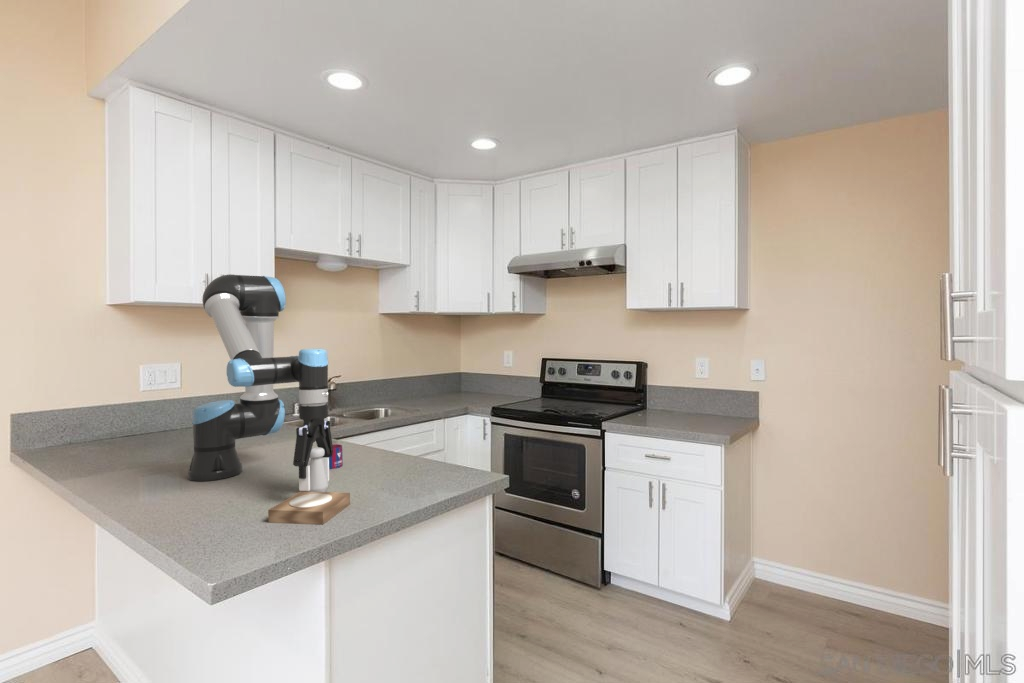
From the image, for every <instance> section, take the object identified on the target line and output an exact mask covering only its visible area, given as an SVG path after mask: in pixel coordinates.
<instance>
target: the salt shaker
mask: <svg viewBox="0 0 1024 683" xmlns="http://www.w3.org/2000/svg"><path fill="white" fill-rule="evenodd" d="M324 454H325V451H324V449H323V448H319V447H318V446H316V447H312V450H311V454H310V458H309V459H310V460H309V462H310V463H309V466H310V490H309V491H307V492H328V487H329V481H328V479H327V475H326V470H325V466H324V462H323V457H322V456H324Z"/></svg>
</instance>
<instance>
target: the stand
mask: <svg viewBox="0 0 1024 683" xmlns="http://www.w3.org/2000/svg"><path fill="white" fill-rule="evenodd" d="M350 505H351V493H350V492H336V491H335V492H330V491H326V492H308V491H298V492H297V493H295V494H294V495H292V496H290V497H288V498H287V499H285V500H283V501H282V502H280V503H278V504H276V505H274V506H273V507H271V508H269V509H268V510H267V513H268V515H267V516H268V518H267V519H268V523H277V524H300V525H301V524H305V525H306V524H307V525H309V524H310V525H325V523H327V522H328V521H330V520H331V519H333V518H334V517H335V516H337V515H338V514H339V513H340V512H342V511H344V509H346V508H347V507H348V506H350Z"/></svg>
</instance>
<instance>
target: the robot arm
mask: <svg viewBox="0 0 1024 683" xmlns="http://www.w3.org/2000/svg"><path fill="white" fill-rule="evenodd" d="M201 300H202V307H203V309H204V311H205V313H206V314H207V316H209V317H210V318H212V320H213V322H214V325H215V327H216V329H217V332H218V334H219V336H220V338H221V341H222V343H223V346H224V348H225V350H226V352H227V354H228V356H229V360H228V362H227V365H226V377H227V378H226V379H227V381H228V383H229V385H230V386H231V387H235V388H237V387H239V388H240V387H243V388H244V393H243V394H242V395H240V397H239V400H240V401H239V403H235V401H234V400H232V399H223V400H217V401H212V402H207V403H203V404H201V405H199V406H197V407H195V408H194V410H193V411H192V421H191V423H192V426H193V427H192V432H193V437H192V438H193V454H192V458H191V462H190V465H189V469H188V470H187V474H188V476H187V478H188V480H190V481H194V482H208V481H215V480H216V481H217V480H223V479H227V478H232V477H235V476H237V475H239V474H241V473H242V472H243V464H242V461H241V460H240V456H239V454H238V451H237V448H236V440H239V439H240V440H241V439H246V438H253V437H260V436H264V437H265V436H267V435H271V434H275V433H278V432H279V431H280V430H281V428H282V427H283V425H284V420H285V416H286V414H285V413H286V412H285V411H286V409H285V408H284V407H285V404H284V402H283V400H281V399H279V394H278V393H276V392H275V391H274V385H277V384H291V383H298V404H300V405H299V411H298V412H299V414H298V416H299V419H300V421H301V420H302V421H303V424H302V427H296V430H295V431H296V432H295V433H296V438H295V447H294V455H293V462H292V465H293V466H294V467H298V490H299V491H298V492H308V491H309V490H310V465H309V462H310V459H311V458H310V454H311V450H312V448H313V445H314V443H315V442H316V447H319V448H323V449H324V451H325V454H324V456H322V457H323V462H324V466H325V470H326V475H327V479H328V482H329V481H330V469H329V457H332V456H333V454H332V453H333V444H334V443H333V440H332V439H333V438H332V433H331V421H330V420H324V419H327V418H329V405H328V404H327V403H328V402H329V394H330V393H329V392H328V391H329V390H328V387H329V381H328V380H329V377H328V376H329V366H328V365H329V361H328V351H327V350H326V349H324V348H319V349H318V348H308V349H306V348H304V349H300V350H299V351H298V355H291V356H278V357H277V356H276V357H275V356H274V350H275V349H274V338H275V335H274V330H275V328H274V326H275V325H274V324H275V323H274V322H275V321H276V320H277V319H278V318H279V316H280V315H279V313H281V312H283V311H284V310H285V307H286V293H285V289H284V286H283V284H282V283H281V281H280V280H279V279H278V278H276V277H272V276H266V275H261V276H260V275H245V274H232V273H231V274H223V275H220V276H217V277H216V278H214V279H213V280H211V282H209V284H208V285H207V286H206V287H205V289H204V291H203V293H202V299H201Z"/></svg>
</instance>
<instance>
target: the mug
mask: <svg viewBox="0 0 1024 683" xmlns="http://www.w3.org/2000/svg"><path fill="white" fill-rule="evenodd" d="M332 444H333V453H332V454H333V456H332V457H329V470H334V469H339V468H341V467H343V464H344V462H343V460H344V459H343V445H342V444H336V443H335V444H334V443H332Z"/></svg>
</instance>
